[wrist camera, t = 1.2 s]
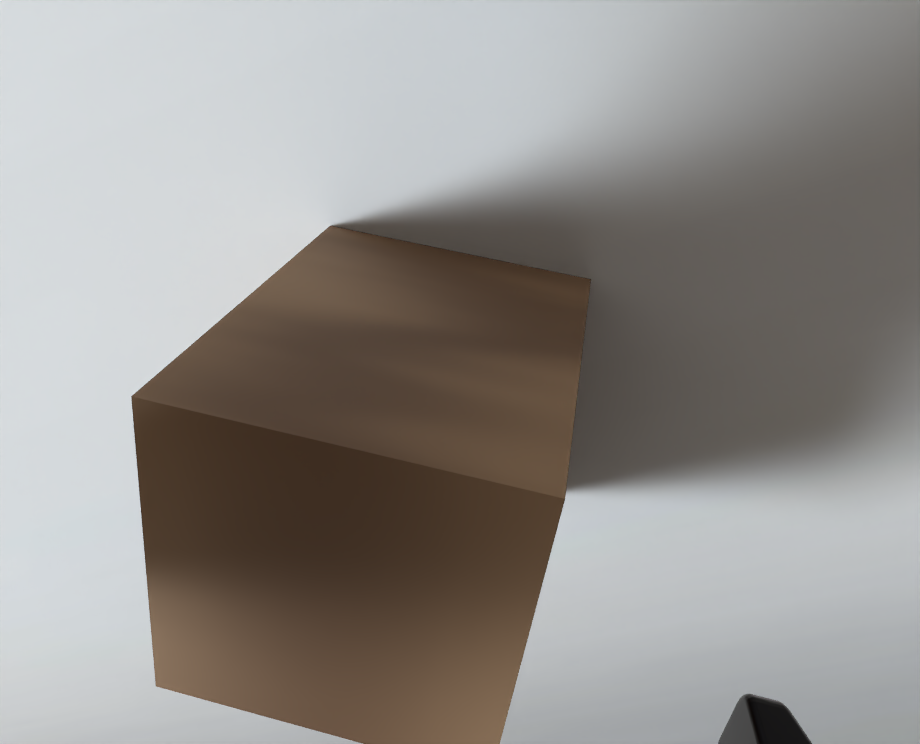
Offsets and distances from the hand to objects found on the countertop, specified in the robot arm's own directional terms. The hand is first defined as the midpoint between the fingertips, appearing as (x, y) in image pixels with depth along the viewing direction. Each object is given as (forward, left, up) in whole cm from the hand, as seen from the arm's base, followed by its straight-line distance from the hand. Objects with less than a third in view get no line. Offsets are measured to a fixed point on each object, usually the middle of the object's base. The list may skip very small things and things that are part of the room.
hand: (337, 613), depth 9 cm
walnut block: (0, 0, -6) cm, 6 cm away
